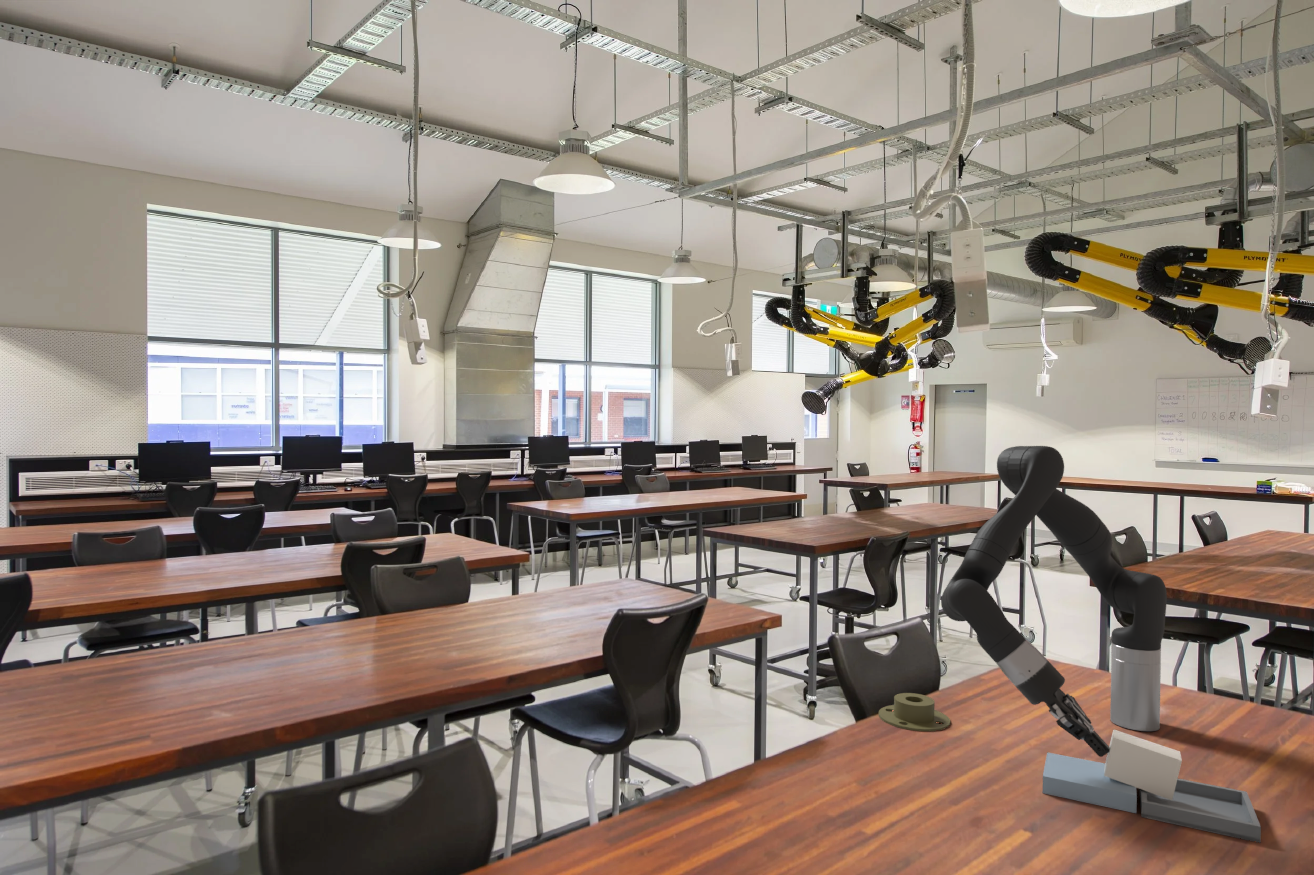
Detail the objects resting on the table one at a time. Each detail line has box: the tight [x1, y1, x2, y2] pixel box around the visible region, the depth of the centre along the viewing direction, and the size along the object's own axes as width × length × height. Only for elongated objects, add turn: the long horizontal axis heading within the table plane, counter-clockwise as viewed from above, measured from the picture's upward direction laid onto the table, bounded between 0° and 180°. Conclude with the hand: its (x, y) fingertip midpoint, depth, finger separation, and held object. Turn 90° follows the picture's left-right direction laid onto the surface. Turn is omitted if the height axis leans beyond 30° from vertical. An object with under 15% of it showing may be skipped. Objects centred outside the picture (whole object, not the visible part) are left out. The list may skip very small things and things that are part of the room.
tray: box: [1138, 777, 1262, 844], centre depth 130 cm, size 14×16×2 cm
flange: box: [878, 692, 951, 732], centre depth 172 cm, size 5×15×15 cm
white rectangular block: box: [1104, 729, 1183, 800], centre depth 134 cm, size 4×10×7 cm, turn 60°
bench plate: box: [1042, 751, 1138, 814], centre depth 138 cm, size 12×14×3 cm
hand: (1105, 753), depth 137 cm, fingers closed
